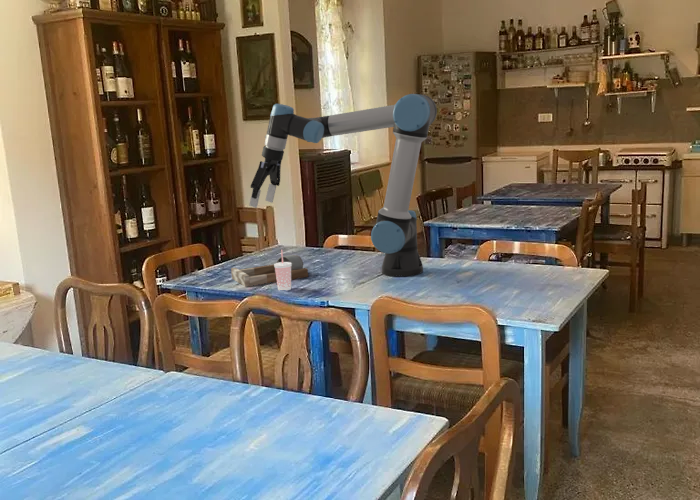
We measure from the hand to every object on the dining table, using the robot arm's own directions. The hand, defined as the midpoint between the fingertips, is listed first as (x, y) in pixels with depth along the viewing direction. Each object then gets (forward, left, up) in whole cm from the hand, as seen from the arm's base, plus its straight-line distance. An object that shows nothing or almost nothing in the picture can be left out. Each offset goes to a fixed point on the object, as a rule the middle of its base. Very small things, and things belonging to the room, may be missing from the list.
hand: (261, 204), depth 261 cm
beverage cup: (-20, +1, -28) cm, 35 cm away
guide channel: (0, -1, -28) cm, 28 cm away
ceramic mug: (-1, -8, -28) cm, 29 cm away
